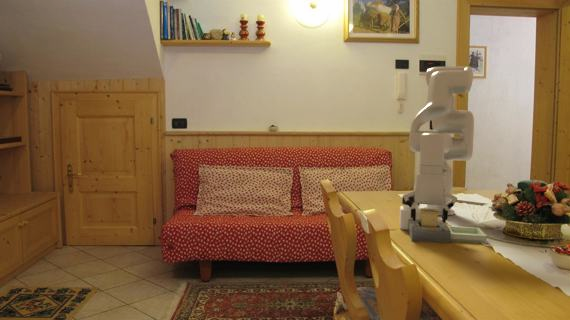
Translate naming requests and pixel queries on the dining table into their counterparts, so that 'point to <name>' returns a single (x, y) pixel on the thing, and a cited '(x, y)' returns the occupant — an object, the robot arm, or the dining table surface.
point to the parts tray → (467, 234)
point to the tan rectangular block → (428, 217)
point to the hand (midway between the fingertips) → (428, 220)
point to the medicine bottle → (407, 213)
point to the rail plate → (429, 232)
